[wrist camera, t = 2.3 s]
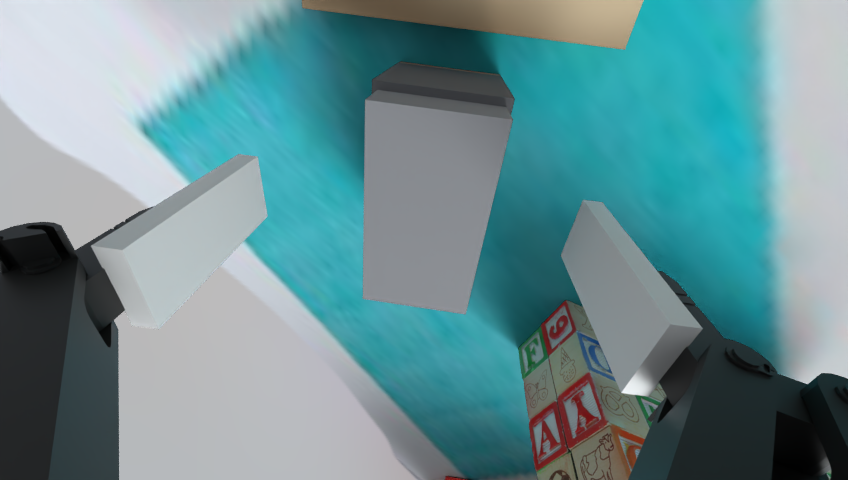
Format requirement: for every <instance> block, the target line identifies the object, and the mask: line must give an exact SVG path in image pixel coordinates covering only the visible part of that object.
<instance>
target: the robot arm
mask: <svg viewBox="0 0 848 480" xmlns="http://www.w3.org/2000/svg"><path fill="white" fill-rule="evenodd" d="M266 217H267V210H266V204H265V198H264V192H263V186H262V180H261V174H260V168H259V162H258V157H257V156H249V155H241V154H238V155H237V156H235V157H233V158H232V159H230V160H229V161H227V162H225V163H224V164H222V165H220V166H219V167H217V168H216V169H214V170H212V171H211V172H209V173H208V174H206V175H204V176H203V177H201V178H199V179H198V180H196V181H195V182H193V183H191V184H190V185H188V186H187V187H185V188H183V189H182V190H180V191H178V192H177V193H175V194H174V195H172V196H170V197H169V198H167V199H166V200H164V201H162V202H161V203H159V204H158V205H156V206H153V207H151V208H148V209H145V210H142V211H140V212H138V213H136V214H135V215H133V216H131V217H129V218H128V219H126V220H125V222H121V223H120V224H118V225H116V226H115V227H114V229H110V230H108V231H107V232H105V233H103V234H102V235H100V236H98V237H97V238H95V239H93V240H92V241H90V242H88V243H87V244H85V245H84V246H82V247H80V248H78V249H77V250H74V248H73V246H72V244H71V242H70V241H69V239H68V238H67V235H66V233H65V232H64V230H63V228H62V226H61V225H58V224H56V223H50V222H38V223H27V224H23V225H19V226H13V227H10V228H7V229H4V230H2V231H0V480H119V405H118V402H119V398H118V328H117V326H116V324H115V322H114V319H115V318H116V317H118V315H120V314H121V313H122V312H123V311H125V313H126V315H127V316H128V319H129V321H130V323H131V324H132V326H137V327H145V328H152V329H160V328H161V327H162V326H163V325H164V323H165V322H166V321H167V320H168V319H169V318H170V317H171V316H172V315H173V314H174V313H175V312H176V311H177V310H178V309H179V308H180V307H181V306H182V305H183V304H184V303H185V302H186V301H187V300H188V299H189V298H190V297H191V295H192V294H193V293H194V292H195V291H196V290H197V289H198V288H199V287H200V286H201V285H202V284H203V283H204V282H205V281H206V280H207V279H208V278H209V277H210V276H211V274H213V273H214V271H215V270H216V269H217V268H218V267H219V266H220V265H221V264H222V263H223V262H224V261H225V260H226V259H227V258H228V257H229V256H230V255H231V254H232V253H233V252H234V251H235V250H236V249H237V248H238V247H239V245H240V244H241V243H242V242H243V241H244V240H245V239H246V238H247V237H248V236H249V235H250V234H251V233H252V232H253V231H254V230H255V229H256V228H257V227H258V226H259V225H260V224H261V223H262V221H263V220H264V219H265V218H266ZM561 257H562V260H563V262H564V264H565V267H566V269H567V271H568V273H569V276H570V278H571V280H572V282H573V285H574V287H575V289H576V292H577V294H578V296H579V298H580V301H581V303H582V305H583V307H584V310H585V312H586V314H587V317H588V319H589V321H590V323H591V326H592V328H593V330H594V332H595V335H596V337H597V339H598V342H599V344H600V346H601V348H602V351H603V353H604V355H605V357H606V360H607V362H608V364H609V367H610V369H611V371H612V373H613V376H614V378H615V380H616V382H617V385H618V387H619V389H620V392H621V393H625V394H632V395H640V396H647V397H649V395H650V394H651V393H652V392H653V390H654V389H655V388H656V387H657V385H658V384H659V383H660V385H661V387H662V389H663V390H664V392H665V394H666V397H665V398H664V400H663V401H662V402H661V403H660V404H659V406H658V407H657V408H656V409H655V410H654V411H653V413H652V414H651V415H650V416H649V417H648V419H647V420H649V421H650V422H652V421H653V422H652V424H651V426H650V429H649V431H648V433H647V436H646V438H645V441H644V443H643V445H642V448H641V450H640V452H639V455H638V457H637V460H636V462H635V464H634V467H633V469H632V471H631V474H630V476H629V479H628V480H829V478H828V475H827V472H829V471H830V470H831V478H830V480H848V379H847V378H845V377H841V376H838V375H834V374H829V373H821V374H820V375H819V376H817V377H816V378H815V379H814V380H813V381H811V382H810V383H809V384H805V383H802V382H799V381H796V380H794V379H791V378H788V377H785V376H782V375H779V374H777V371H776V370H775V368H774V367H773V366H772V365H771V363H770V362H769V361H768V360H766V359H765V358H764V357H763V356H762V355H760V354H759V353H758V352H756V351H754V350H753V349H751V348H749V347H748V346H746V345H743V344H741V343H739V342H736V341H733V340H729V339H724V338H723V336H722V335H721V334H720V333H719V332H718V331H717V329H716V328H715V327H714V326H713V325H712V323H711V322H710V321H709V320H708V319H707V317H706V316H705V315H704V314H703V313H702V311H701V310H700V309H699V308H698V307H696V306H695V303H694V302H693V301H692V299H691V298H690V297H687V294H686V292H685V291H684V290H683V289H682V288H681V286H680V285H679V284H678V283H677V282H676V281H674V280H673V279H672V278H670V277H669V276H668V275H666V274H665V273H664V272H661V271H657V270H656V269H655V268H654V267H653V265H652V264H651V263H650V262H649V260H648V259H647V258H646V257H645V255H644V254H643V253H642V251H641V250H640V249H639V248H638V246H637V245H636V244H635V243H634V241H633V240H632V239H631V238H630V236H629V235H628V234H627V233H626V231H625V230H624V229H623V228H622V226H621V225H620V224H619V223H618V221H617V220H616V219H615V218H614V216H613V215H612V214H611V213H610V211H609V210H608V209H607V208H606V206H605V205H604V204H603V202H597V201H589V200H583V201H582V204H581V206H580V209H579V211H578V214H577V216H576V219H575V221H574V224H573V226H572V229H571V231H570V234H569V236H568V239H567V241H566V244H565V246H564V248H563V251H562V253H561Z"/></svg>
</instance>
